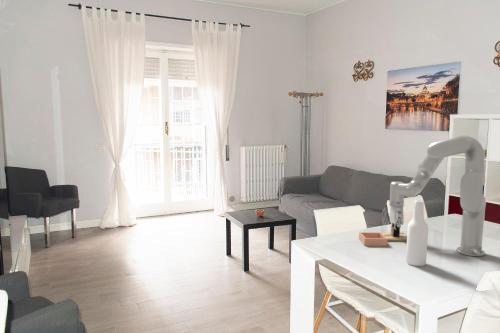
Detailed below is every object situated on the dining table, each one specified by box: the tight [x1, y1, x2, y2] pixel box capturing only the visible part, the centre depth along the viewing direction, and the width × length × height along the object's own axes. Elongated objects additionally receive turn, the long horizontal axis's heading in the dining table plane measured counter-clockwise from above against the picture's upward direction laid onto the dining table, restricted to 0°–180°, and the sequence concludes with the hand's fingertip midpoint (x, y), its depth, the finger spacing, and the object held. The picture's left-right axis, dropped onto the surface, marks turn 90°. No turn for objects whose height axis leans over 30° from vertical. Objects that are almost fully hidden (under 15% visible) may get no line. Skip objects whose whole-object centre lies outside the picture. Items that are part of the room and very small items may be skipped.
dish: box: [358, 231, 388, 247], centre depth 217 cm, size 12×12×4 cm
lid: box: [381, 226, 407, 243], centre depth 225 cm, size 14×14×6 cm
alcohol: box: [405, 199, 429, 267], centre depth 185 cm, size 9×9×30 cm
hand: (395, 235), depth 225 cm, fingers closed on lid, 3 cm apart
